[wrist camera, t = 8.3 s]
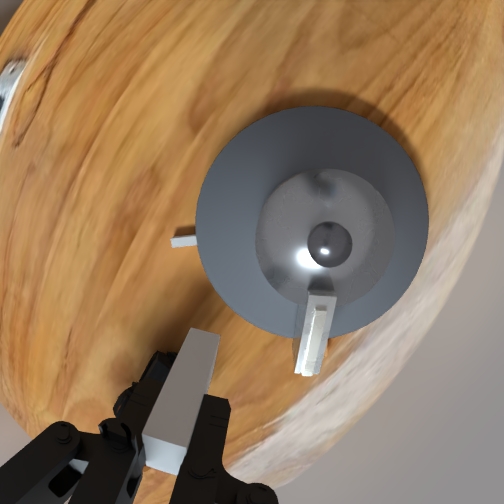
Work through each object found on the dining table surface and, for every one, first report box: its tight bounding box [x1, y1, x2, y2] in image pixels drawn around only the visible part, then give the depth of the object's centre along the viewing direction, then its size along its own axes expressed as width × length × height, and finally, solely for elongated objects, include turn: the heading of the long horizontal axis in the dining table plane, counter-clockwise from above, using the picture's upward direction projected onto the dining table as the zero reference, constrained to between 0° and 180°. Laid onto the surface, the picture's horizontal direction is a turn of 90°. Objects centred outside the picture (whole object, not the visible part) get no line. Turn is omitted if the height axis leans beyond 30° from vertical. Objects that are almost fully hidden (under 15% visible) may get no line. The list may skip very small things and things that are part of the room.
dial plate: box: [171, 106, 429, 357], centre depth 23 cm, size 22×22×2 cm
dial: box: [255, 169, 395, 376], centre depth 21 cm, size 16×10×4 cm, turn 176°
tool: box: [113, 351, 178, 472], centre depth 28 cm, size 8×23×15 cm, turn 149°
